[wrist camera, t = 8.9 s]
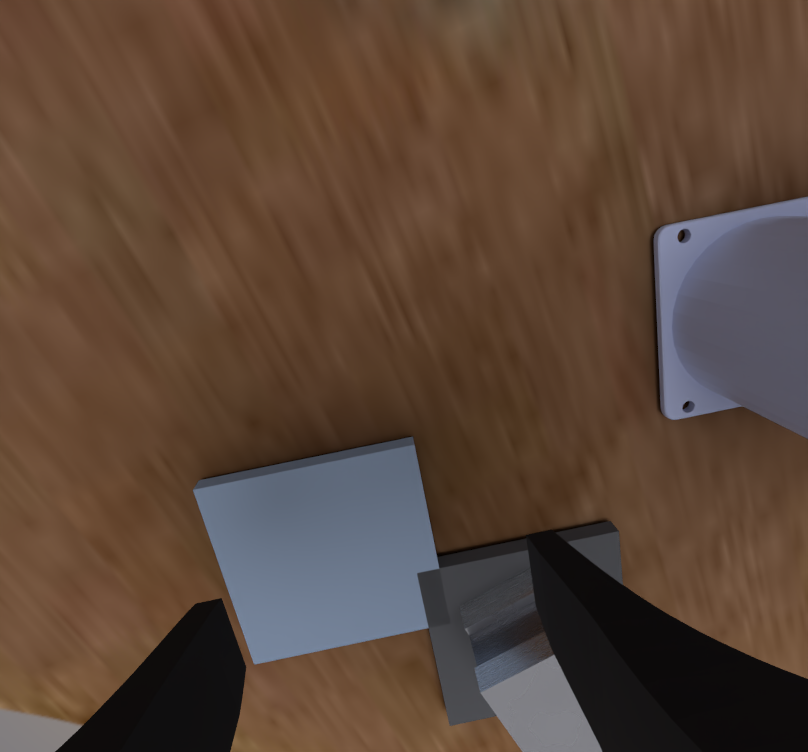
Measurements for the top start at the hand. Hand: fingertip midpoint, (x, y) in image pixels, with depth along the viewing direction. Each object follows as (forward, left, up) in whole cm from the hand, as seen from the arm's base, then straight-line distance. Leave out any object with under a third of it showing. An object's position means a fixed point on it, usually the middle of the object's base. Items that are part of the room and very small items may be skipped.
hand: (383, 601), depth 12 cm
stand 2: (-5, +11, -10) cm, 16 cm away
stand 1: (+3, +5, -10) cm, 11 cm away
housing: (-5, +11, -9) cm, 15 cm away
